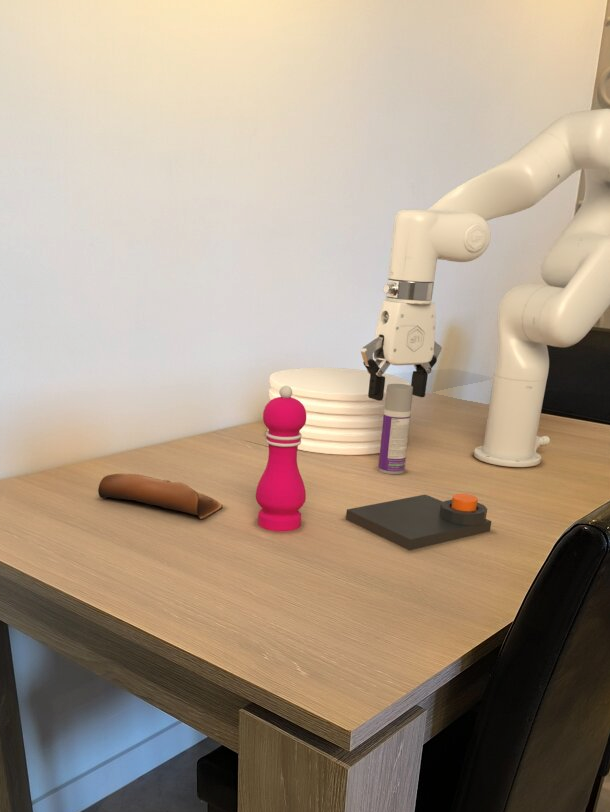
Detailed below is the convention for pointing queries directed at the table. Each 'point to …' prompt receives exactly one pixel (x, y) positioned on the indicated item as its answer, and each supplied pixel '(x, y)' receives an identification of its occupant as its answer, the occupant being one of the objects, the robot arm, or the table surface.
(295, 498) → the pepper mill
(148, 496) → the sunglasses case
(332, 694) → the table surface
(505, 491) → the table surface
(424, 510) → the dark grey flat block
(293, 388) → the plate stack
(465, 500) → the button
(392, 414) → the container
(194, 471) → the table surface
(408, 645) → the table surface
